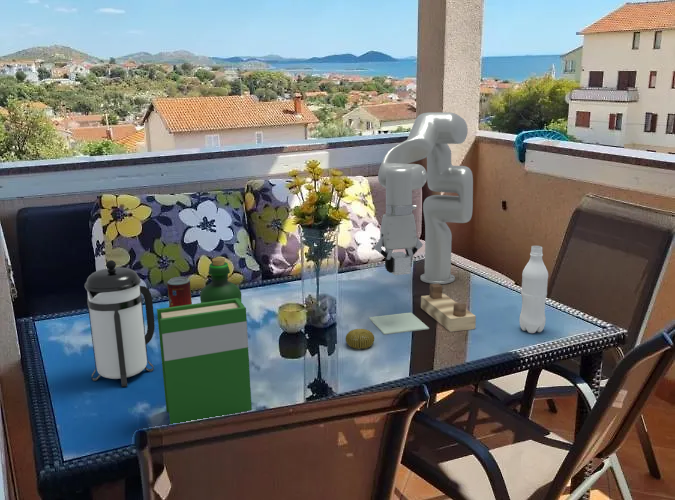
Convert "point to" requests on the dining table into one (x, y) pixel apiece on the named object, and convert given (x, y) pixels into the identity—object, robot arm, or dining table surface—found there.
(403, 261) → the grey block
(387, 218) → the robot arm
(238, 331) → the hardback book
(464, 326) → the hand plane
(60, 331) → the dining table surface
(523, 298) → the water bottle
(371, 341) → the sculpture
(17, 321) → the dining table surface
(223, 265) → the bottle
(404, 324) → the mat
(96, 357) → the coffee press
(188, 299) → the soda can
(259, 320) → the dining table surface
